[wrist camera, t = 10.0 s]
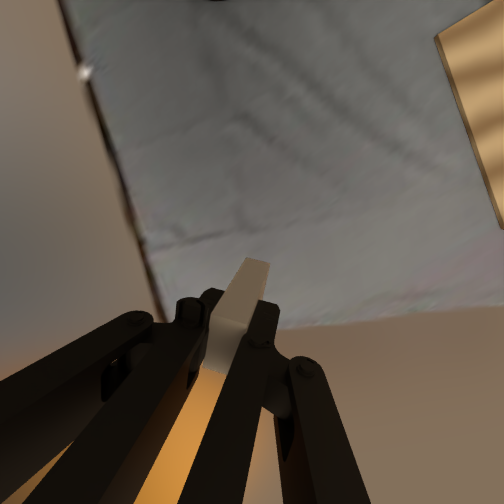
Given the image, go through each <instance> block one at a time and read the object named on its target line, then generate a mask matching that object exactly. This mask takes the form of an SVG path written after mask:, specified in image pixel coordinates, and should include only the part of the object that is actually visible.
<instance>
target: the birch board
mask: <svg viewBox="0 0 504 504" xmlns="http://www.w3.org/2000/svg"><path fill="white" fill-rule="evenodd" d="M434 40H435V42H436V45H437V48H438V51H439V54H440V57H441V60H442V62H443V65H444V68H445V71H446V74H447V77H448V79H449V82H450V85H451V88H452V91H453V94H454V96H455V99H456V102H457V105H458V108H459V111H460V114H461V116H462V119H463V122H464V125H465V128H466V131H467V133H468V136H469V139H470V142H471V145H472V148H473V150H474V153H475V156H476V159H477V162H478V165H479V168H480V170H481V173H482V176H483V179H484V182H485V185H486V187H487V190H488V193H489V196H490V199H491V202H492V204H493V207H494V210H495V213H496V216H497V219H498V221H499V224H500V227H501V229H503V230H504V0H493V1H492V2H490V3H488V4H487V5H485V6H484V7H482V8H480V9H479V10H477V11H475V12H474V13H472V14H471V15H469V16H467V17H466V18H464V19H462V20H461V21H459V22H458V23H456V24H454V25H453V26H451V27H449V28H448V29H446V30H445V31H443V32H441V33H440V34H438V35H437V36H436V37H435V38H434Z"/></svg>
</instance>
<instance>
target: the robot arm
mask: <svg viewBox="0 0 504 504" xmlns="http://www.w3.org/2000/svg"><path fill="white" fill-rule="evenodd" d="M212 1H222V0H212ZM269 267H270V263H267V262H263V261H259V260H255V259H251V258H246V259H245V261H244V262H243V264H242V265H241V267H240V269H239V270H238V272H237V273H236V275H235V277H234V278H233V280H232V281H231V283H230V284H229V286H228V288H227V289H226V291H223V290H219V289H215V288H210V289H208V290H206V291H204V292H203V294H202V295H201V296H200V297H199V298H194V297H186V298H182V299H180V300H178V301H177V304H176V314H175V319H174V321H173V322H172V323H157V322H153V317H152V315H150V314H149V313H148V312H145V311H130V312H127V313H124V314H122V315H120V316H118V317H117V318H115V319H113V320H111V321H109V322H108V323H106V324H104V325H102V326H100V327H98V328H97V329H95V330H93V331H92V332H89V333H88V334H86V335H84V336H82V337H80V338H78V339H77V340H75V341H73V342H71V343H69V344H67V345H66V346H64V347H62V348H60V349H58V350H56V351H55V352H53V353H51V354H49V355H48V356H46V357H44V358H42V359H40V360H38V361H36V362H35V363H33V364H31V365H29V366H27V367H25V368H24V369H22V370H20V371H18V372H16V373H15V374H13V375H11V376H9V377H7V378H5V379H4V380H2V381H0V504H1V503H2V502H3V501H5V500H6V499H7V498H8V497H9V496H10V495H12V494H13V493H14V492H15V491H16V490H17V489H19V488H20V487H21V486H22V485H23V484H24V483H26V482H27V481H28V480H29V479H30V478H31V477H32V476H34V475H35V474H36V473H37V472H38V471H39V470H40V469H42V468H43V467H44V466H45V465H46V464H47V463H49V462H50V461H51V460H52V459H53V458H54V457H55V456H57V455H58V454H59V453H60V452H61V451H62V450H63V449H65V448H66V447H67V446H68V445H69V444H70V443H72V442H73V443H72V444H71V445H70V446H69V448H68V449H67V450H66V451H65V452H64V454H63V455H62V456H61V457H60V458H59V460H58V461H57V462H56V463H55V464H54V466H53V467H52V468H51V469H50V471H49V472H48V473H47V474H46V475H45V477H44V478H43V479H42V480H41V481H40V483H39V484H38V485H37V486H36V487H35V489H34V490H33V491H32V492H31V493H30V495H29V496H28V497H27V498H26V500H25V501H24V502H23V503H22V504H133V503H134V502H135V500H136V497H137V495H138V493H139V492H140V490H141V488H142V486H143V484H144V482H145V480H146V478H147V476H148V474H149V472H150V470H151V468H152V466H153V464H154V462H155V460H156V458H157V456H158V454H159V452H160V450H161V448H162V446H163V444H164V442H165V440H166V439H167V437H168V434H169V432H170V431H171V429H172V427H173V425H174V423H175V421H176V419H177V417H178V415H179V413H180V411H181V409H182V407H183V405H184V403H185V401H186V399H187V397H188V395H189V393H190V391H191V389H192V387H193V385H194V383H195V381H196V379H197V377H198V374H199V369H200V365H201V363H202V361H203V359H204V361H203V367H204V368H206V369H210V370H213V371H216V372H219V373H223V374H226V375H227V376H226V379H225V382H224V384H223V387H222V390H221V392H220V395H219V397H218V400H217V402H216V405H215V407H214V410H213V413H212V415H211V418H210V421H209V423H208V426H207V428H206V431H205V433H204V436H203V438H202V441H201V444H200V446H199V449H198V452H197V454H196V456H195V459H194V462H193V464H192V467H191V469H190V472H189V475H188V477H187V480H186V482H185V485H184V487H183V490H182V493H181V495H180V498H179V500H178V503H177V504H242V502H243V497H244V492H245V487H246V482H247V477H248V472H249V467H250V462H251V457H252V452H253V447H254V442H255V437H256V432H257V427H258V422H259V417H260V412H261V408H262V407H264V408H265V409H267V410H268V411H270V412H271V413H273V414H274V418H273V419H274V427H275V436H276V444H277V453H278V462H279V471H280V479H281V487H282V497H283V504H371V502H370V499H369V496H368V494H367V491H366V488H365V485H364V483H363V480H362V477H361V474H360V471H359V469H358V466H357V463H356V460H355V457H354V455H353V452H352V449H351V446H350V444H349V441H348V438H347V435H346V432H345V429H344V427H343V424H342V421H341V419H340V416H339V413H338V410H337V407H336V405H335V402H334V399H333V396H332V393H331V390H330V388H329V385H328V382H327V379H326V376H325V374H324V371H323V369H322V368H321V366H320V365H319V364H318V363H317V362H316V361H314V360H312V359H310V358H308V357H304V356H296V357H294V358H292V359H291V360H289V359H287V358H286V357H284V356H282V355H281V354H280V353H279V352H278V351H277V349H276V348H275V345H274V339H275V334H276V329H277V324H278V319H279V314H280V309H279V307H278V305H277V304H274V303H270V302H266V301H263V300H262V298H263V294H264V289H265V285H266V280H267V276H268V272H269ZM116 359H117V360H116ZM115 360H116V361H115ZM113 361H114V362H113ZM112 362H113V363H112Z"/></svg>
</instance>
